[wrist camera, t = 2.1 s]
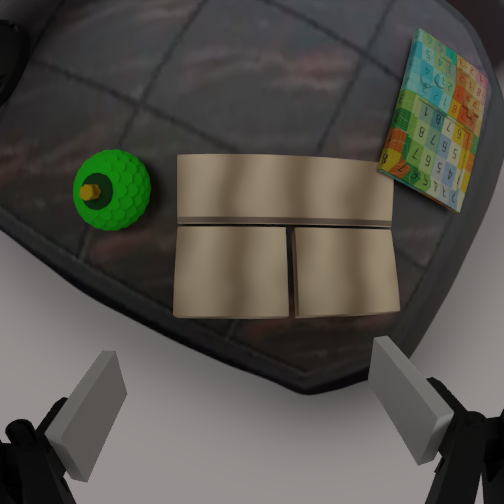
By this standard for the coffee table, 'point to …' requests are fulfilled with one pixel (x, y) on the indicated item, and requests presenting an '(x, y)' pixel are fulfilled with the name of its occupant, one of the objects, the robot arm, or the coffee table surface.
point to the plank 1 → (231, 273)
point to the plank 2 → (343, 272)
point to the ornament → (111, 189)
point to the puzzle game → (435, 123)
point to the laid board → (282, 190)
